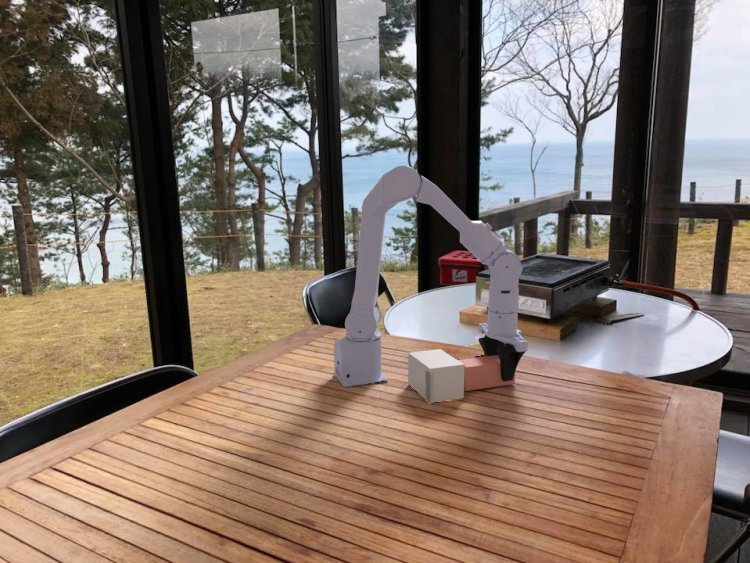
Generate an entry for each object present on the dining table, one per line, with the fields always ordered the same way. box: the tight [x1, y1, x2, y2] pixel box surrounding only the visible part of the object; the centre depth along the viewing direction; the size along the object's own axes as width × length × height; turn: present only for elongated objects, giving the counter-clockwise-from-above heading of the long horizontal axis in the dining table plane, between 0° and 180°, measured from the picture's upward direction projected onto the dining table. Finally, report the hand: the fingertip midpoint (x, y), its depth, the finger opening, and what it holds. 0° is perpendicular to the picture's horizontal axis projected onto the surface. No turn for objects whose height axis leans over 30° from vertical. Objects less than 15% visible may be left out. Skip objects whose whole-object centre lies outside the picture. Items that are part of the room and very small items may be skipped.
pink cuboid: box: [458, 355, 516, 392], centre depth 110 cm, size 11×4×5 cm, turn 110°
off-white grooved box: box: [407, 348, 465, 404], centre depth 106 cm, size 7×10×7 cm
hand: (500, 376), depth 111 cm, fingers closed on pink cuboid, 4 cm apart
